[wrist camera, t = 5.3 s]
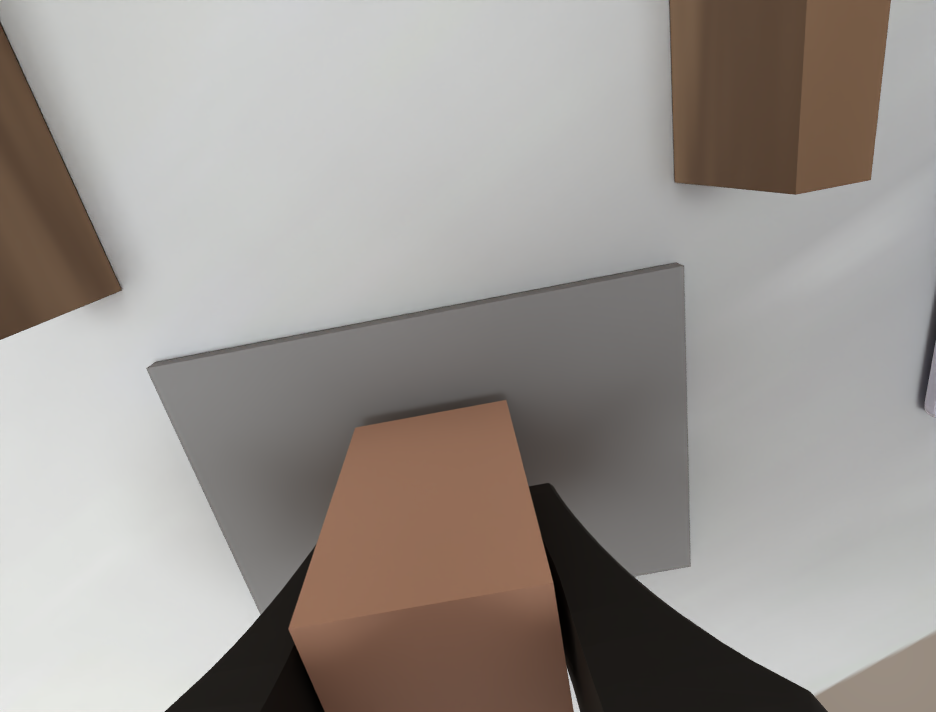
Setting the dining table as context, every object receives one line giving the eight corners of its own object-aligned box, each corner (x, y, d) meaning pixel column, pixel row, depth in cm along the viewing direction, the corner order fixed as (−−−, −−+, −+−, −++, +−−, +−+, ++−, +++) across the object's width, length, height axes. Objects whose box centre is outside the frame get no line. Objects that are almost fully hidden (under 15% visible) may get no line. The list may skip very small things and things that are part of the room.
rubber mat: (677, 262, 13) (684, 265, 13) (684, 557, 17) (690, 566, 16) (154, 362, 13) (145, 368, 13) (276, 629, 17) (272, 639, 17)
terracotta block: (506, 400, 13) (553, 583, 7) (527, 522, 14) (580, 751, 9) (355, 427, 13) (288, 629, 7) (391, 546, 14) (358, 788, 9)
